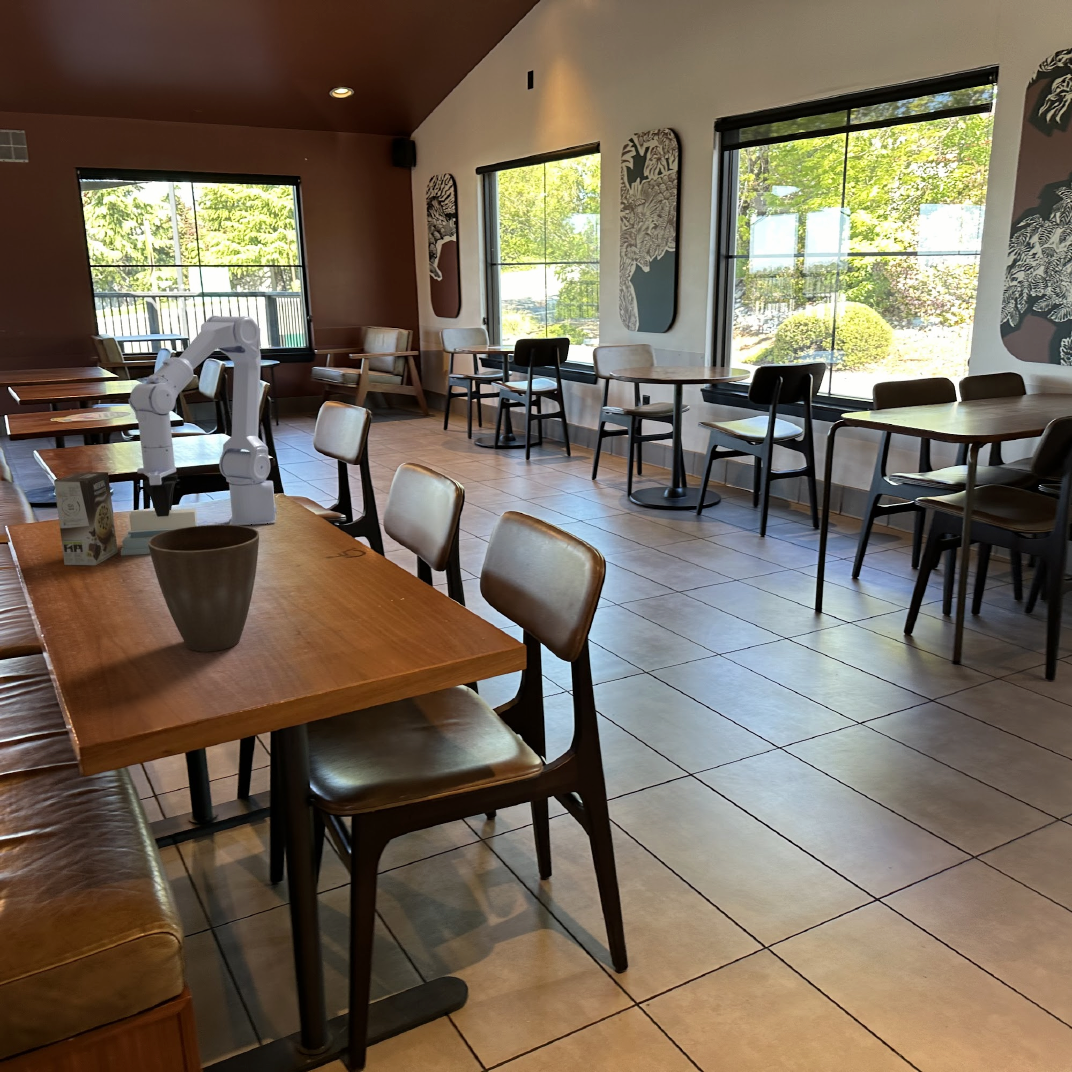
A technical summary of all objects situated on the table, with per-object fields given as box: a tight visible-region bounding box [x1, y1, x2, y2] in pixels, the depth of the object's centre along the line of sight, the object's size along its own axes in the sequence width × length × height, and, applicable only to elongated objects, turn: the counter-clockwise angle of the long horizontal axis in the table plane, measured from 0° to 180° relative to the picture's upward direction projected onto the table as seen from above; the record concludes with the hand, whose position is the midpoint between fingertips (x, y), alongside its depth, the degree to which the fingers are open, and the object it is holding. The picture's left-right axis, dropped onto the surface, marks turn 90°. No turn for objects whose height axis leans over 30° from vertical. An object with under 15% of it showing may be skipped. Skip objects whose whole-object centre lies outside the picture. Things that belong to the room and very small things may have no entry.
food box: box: [53, 471, 118, 566], centre depth 180 cm, size 9×6×16 cm
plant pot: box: [148, 524, 260, 652], centre depth 137 cm, size 15×15×16 cm
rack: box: [120, 529, 174, 556], centre depth 189 cm, size 16×9×3 cm, turn 104°
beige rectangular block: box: [128, 508, 198, 531], centre depth 188 cm, size 12×3×3 cm, turn 104°
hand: (164, 514), depth 188 cm, fingers closed on beige rectangular block, 3 cm apart
